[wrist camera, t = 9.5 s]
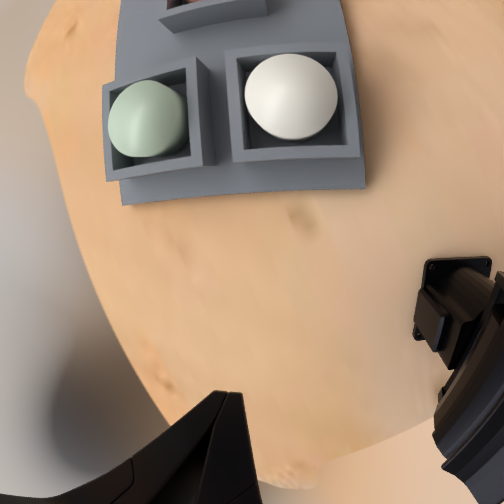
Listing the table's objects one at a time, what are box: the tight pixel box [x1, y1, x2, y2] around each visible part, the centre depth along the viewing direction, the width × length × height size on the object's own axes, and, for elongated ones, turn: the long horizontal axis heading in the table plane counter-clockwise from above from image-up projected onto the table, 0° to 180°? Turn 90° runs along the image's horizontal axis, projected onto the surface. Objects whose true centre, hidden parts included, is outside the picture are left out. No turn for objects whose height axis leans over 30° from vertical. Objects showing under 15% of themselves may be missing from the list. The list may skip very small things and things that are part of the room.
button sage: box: [108, 80, 190, 157], centre depth 14 cm, size 4×4×3 cm
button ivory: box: [245, 54, 338, 143], centre depth 13 cm, size 4×4×3 cm
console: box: [102, 0, 365, 206], centre depth 13 cm, size 16×20×4 cm
